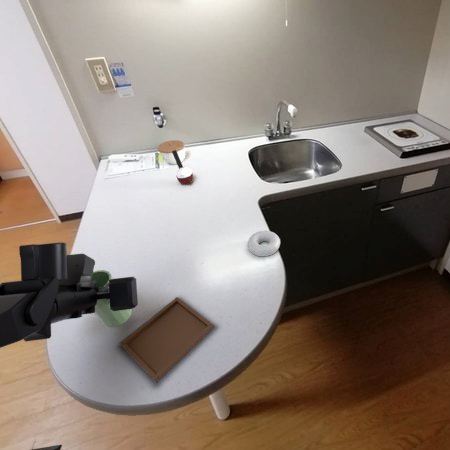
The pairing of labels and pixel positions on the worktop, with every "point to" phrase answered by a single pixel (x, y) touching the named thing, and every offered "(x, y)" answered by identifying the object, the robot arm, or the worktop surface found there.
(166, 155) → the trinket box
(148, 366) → the serving tray
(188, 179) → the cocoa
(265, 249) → the donut
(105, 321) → the green cup
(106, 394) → the worktop surface
